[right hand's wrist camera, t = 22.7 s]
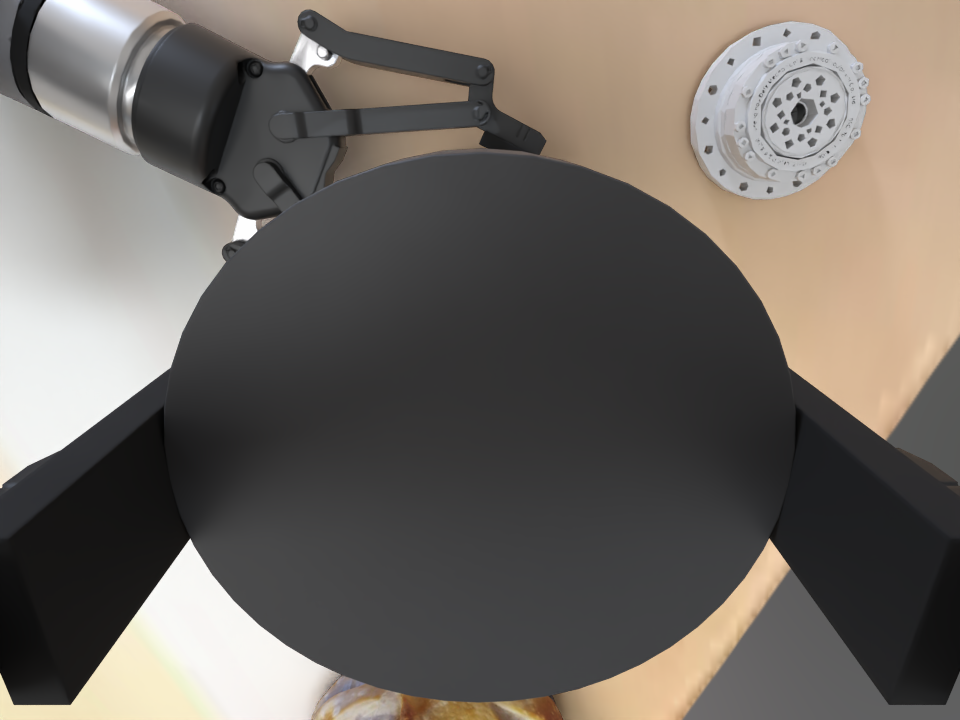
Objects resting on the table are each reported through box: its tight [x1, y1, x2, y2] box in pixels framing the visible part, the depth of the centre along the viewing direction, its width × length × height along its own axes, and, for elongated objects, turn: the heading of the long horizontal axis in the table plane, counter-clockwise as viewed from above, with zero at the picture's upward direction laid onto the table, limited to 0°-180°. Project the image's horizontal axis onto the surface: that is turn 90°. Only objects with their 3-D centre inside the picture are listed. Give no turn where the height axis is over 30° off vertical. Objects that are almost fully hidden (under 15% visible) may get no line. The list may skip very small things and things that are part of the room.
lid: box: [164, 148, 796, 703], centre depth 11 cm, size 11×11×2 cm
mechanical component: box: [690, 21, 871, 199], centre depth 34 cm, size 10×4×10 cm
